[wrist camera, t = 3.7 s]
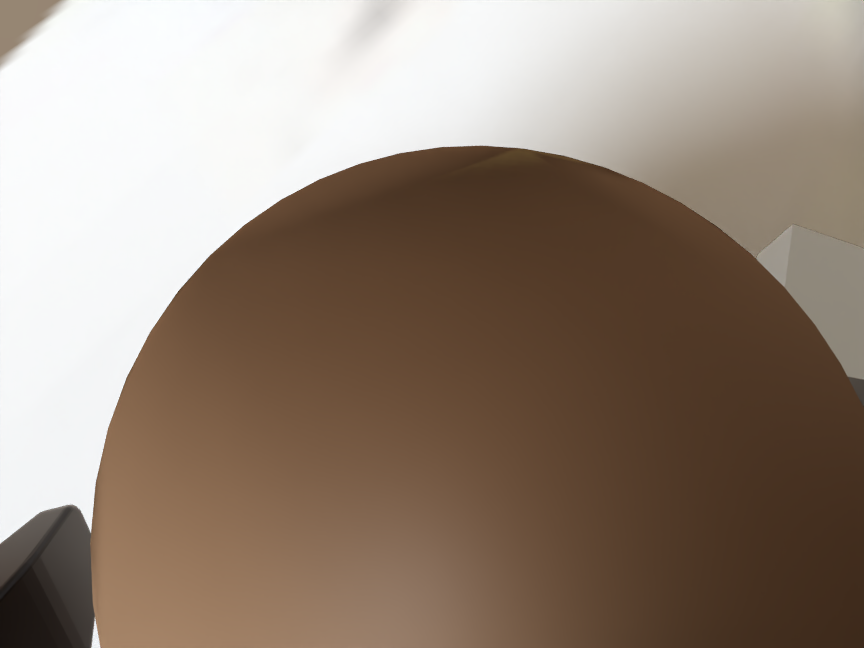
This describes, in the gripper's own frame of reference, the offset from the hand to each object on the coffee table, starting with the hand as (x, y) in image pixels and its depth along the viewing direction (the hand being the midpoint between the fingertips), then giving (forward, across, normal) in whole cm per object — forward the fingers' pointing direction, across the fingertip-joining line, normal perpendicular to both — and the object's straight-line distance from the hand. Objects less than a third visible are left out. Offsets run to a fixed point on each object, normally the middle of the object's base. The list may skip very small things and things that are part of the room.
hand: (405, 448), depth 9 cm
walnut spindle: (+4, 0, +6) cm, 7 cm away
